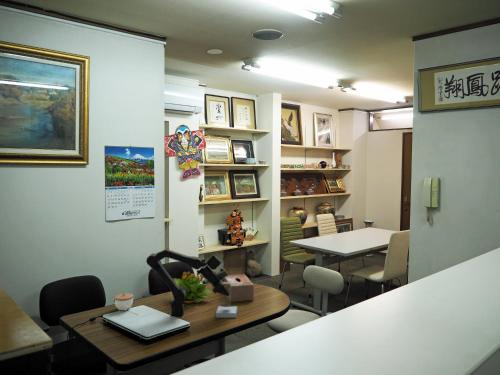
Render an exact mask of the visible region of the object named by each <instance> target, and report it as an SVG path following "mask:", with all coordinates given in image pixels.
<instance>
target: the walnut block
mask: <svg viewBox="0 0 500 375" xmlns="http://www.w3.org/2000/svg"><path fill="white" fill-rule="evenodd" d="M223 284H224V288H225V289H226V290H227V292H228V293H229V296H226V295H224V294H222V306H223V307H231V306H232V305H231V303H232V302H231V282H223Z"/></svg>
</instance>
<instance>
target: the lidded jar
mask: <svg viewBox="0 0 500 375" xmlns="http://www.w3.org/2000/svg"><path fill="white" fill-rule="evenodd" d="M133 302H134V295H133V294H132V293H125V292H123V293H120V294H116V295H114V305H115V307H116V308H117V309H118V310H119V311H120V310H124V309H128V308H129V309H130V308H131V307H132V306H133ZM129 309H128V310H129Z"/></svg>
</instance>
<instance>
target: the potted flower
mask: <svg viewBox="0 0 500 375" xmlns="http://www.w3.org/2000/svg"><path fill="white" fill-rule="evenodd" d="M172 279H173V280H174V282H175V283H176V284H177V285H178V286H179V287H181V286H183V288H184V289H185V290H186V298H185V300H184V302H183V304H184V303H185V304H190V303H191V304H192V303H197V304H198V303H199V304H200V302H202V301H205V300H206V297H208V298H209V297H210V296H211V294H212V293H214V292H213V290H210V289H209V288H207V286H208V284H204V283H202V282H203V279H206V278H205V277H204V276H203V275H202V274H199V275H198V276H197V275H195V273H191V272H190V271H187V272H186V271H183V273H182V276H181V278H176V277H175V278H173V277H172ZM205 296H206V297H205ZM173 298H174V297H173V295H172V296H171V299H172V300H173Z"/></svg>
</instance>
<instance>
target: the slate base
mask: <svg viewBox="0 0 500 375" xmlns="http://www.w3.org/2000/svg"><path fill="white" fill-rule="evenodd" d="M237 314H238V306H237V305H236V306H232V305H231V307H223V305H222V306H221V305H219V306H218V307H217V310H216V312H215V318H227V319H228V318H232V319H233V318H235V319H236V318H237Z"/></svg>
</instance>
